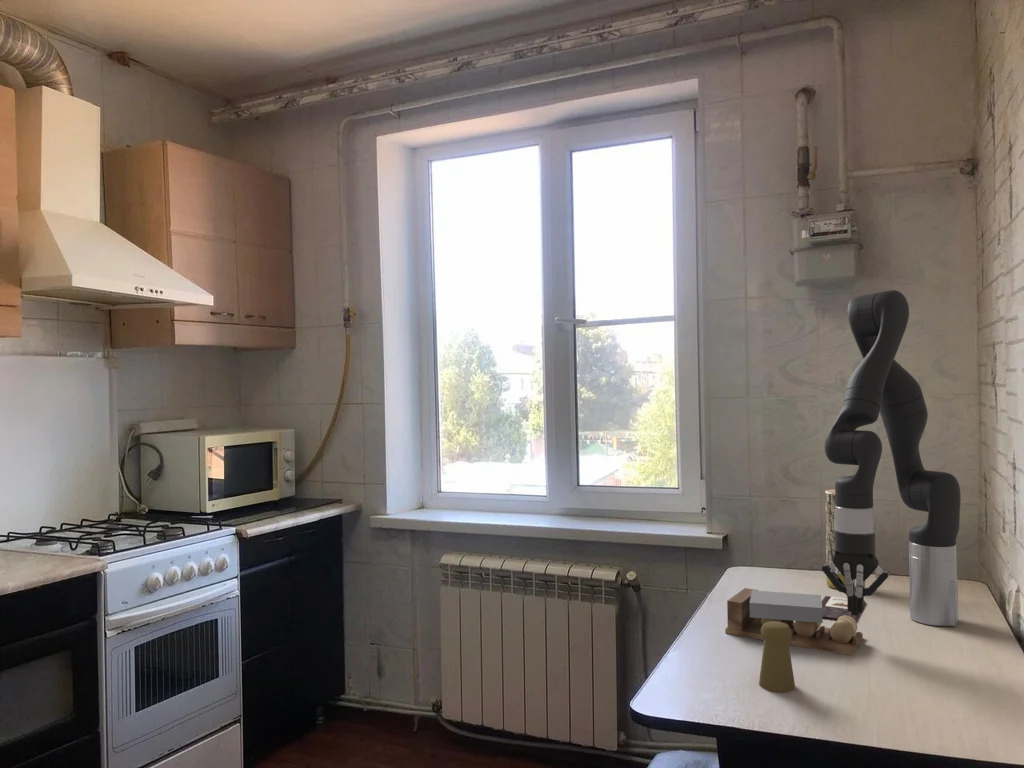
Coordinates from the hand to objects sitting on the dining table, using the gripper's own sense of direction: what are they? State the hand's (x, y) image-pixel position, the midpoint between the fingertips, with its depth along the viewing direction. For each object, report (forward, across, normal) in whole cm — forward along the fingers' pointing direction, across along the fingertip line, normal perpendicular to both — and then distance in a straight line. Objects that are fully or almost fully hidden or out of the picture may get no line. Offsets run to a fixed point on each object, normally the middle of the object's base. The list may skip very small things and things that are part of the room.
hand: (856, 614), depth 154 cm
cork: (+6, -8, -29) cm, 31 cm away
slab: (+1, -13, -2) cm, 13 cm away
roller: (+5, -16, 0) cm, 17 cm away
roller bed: (+6, -12, 0) cm, 14 cm away
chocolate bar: (+7, -8, +24) cm, 26 cm away
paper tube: (+7, -12, +46) cm, 48 cm away
